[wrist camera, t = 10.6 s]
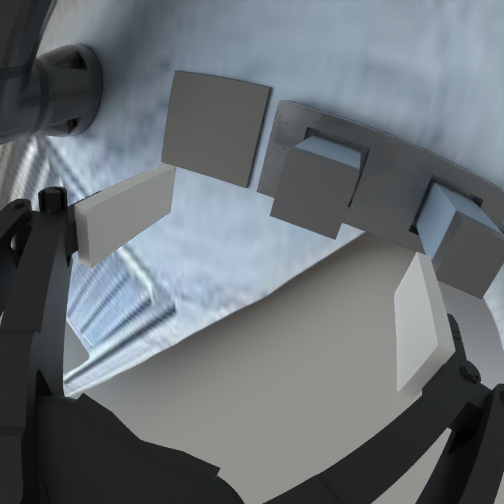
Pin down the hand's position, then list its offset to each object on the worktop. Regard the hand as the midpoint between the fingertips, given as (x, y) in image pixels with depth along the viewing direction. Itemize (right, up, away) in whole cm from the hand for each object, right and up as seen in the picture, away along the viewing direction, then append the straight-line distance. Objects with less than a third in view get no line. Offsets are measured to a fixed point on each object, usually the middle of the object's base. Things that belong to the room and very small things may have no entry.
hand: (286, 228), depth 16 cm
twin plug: (+18, +3, +13) cm, 23 cm away
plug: (+6, +8, +16) cm, 19 cm away
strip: (+16, +5, +15) cm, 22 cm away
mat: (-6, +13, +19) cm, 24 cm away
